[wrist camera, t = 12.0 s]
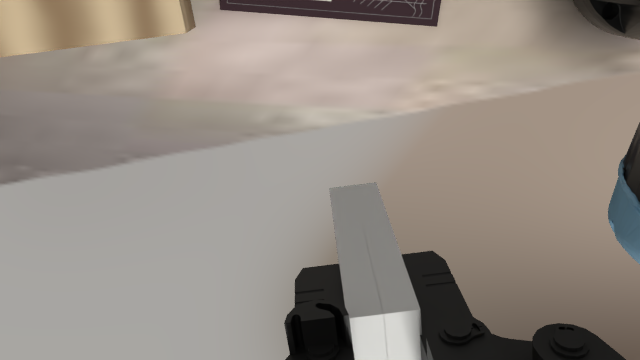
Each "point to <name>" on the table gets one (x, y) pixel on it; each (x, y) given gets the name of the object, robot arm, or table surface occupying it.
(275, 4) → the chocolate bar
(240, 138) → the table surface
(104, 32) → the deck
